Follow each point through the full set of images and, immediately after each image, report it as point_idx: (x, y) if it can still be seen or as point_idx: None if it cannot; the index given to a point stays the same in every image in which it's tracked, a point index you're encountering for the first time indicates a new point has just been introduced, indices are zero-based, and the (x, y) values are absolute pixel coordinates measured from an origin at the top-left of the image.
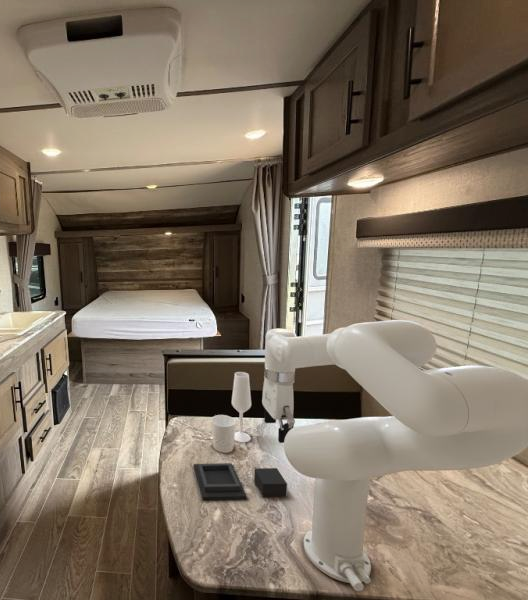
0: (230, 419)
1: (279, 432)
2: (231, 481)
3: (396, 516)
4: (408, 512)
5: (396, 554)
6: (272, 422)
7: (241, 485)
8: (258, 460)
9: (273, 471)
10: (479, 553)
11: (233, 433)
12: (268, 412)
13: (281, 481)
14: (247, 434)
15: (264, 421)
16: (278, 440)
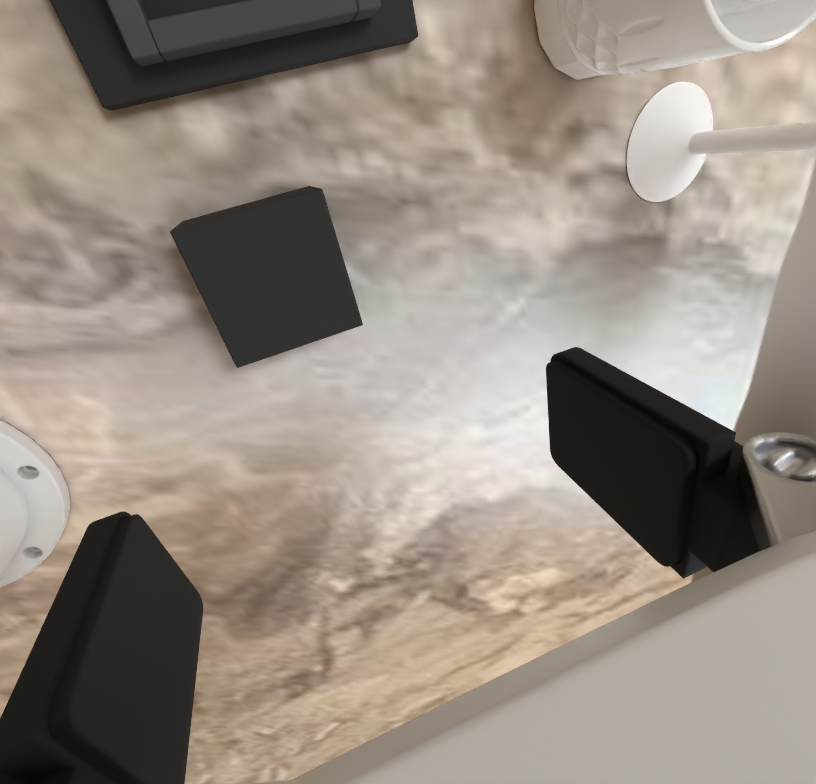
0: (795, 12)
1: (29, 669)
2: (218, 2)
3: (274, 634)
4: (305, 652)
5: None
6: (553, 431)
7: (204, 83)
8: (484, 227)
9: (325, 304)
10: (204, 745)
11: (644, 43)
12: (403, 764)
13: (245, 341)
14: (681, 187)
15: (574, 347)
16: (105, 524)
